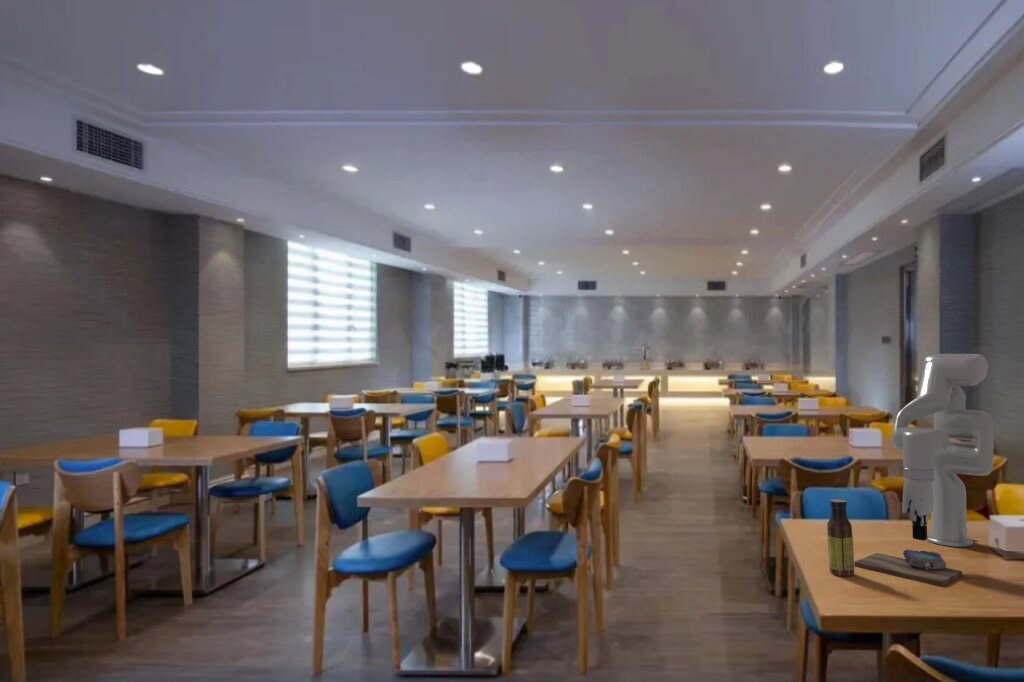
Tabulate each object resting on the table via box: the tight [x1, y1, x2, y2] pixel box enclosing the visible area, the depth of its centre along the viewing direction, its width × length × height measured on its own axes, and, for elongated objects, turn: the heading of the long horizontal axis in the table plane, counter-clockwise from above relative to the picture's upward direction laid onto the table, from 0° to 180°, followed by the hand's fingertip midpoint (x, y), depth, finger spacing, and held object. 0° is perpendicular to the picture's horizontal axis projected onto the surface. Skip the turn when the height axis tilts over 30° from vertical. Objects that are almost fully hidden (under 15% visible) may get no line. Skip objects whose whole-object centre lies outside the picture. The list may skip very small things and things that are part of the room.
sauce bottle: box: [826, 498, 856, 578], centre depth 184 cm, size 6×6×20 cm
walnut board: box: [854, 552, 963, 587], centre depth 186 cm, size 14×22×1 cm, turn 38°
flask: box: [903, 549, 947, 570], centre depth 187 cm, size 9×3×11 cm
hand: (919, 539), depth 192 cm, fingers closed
